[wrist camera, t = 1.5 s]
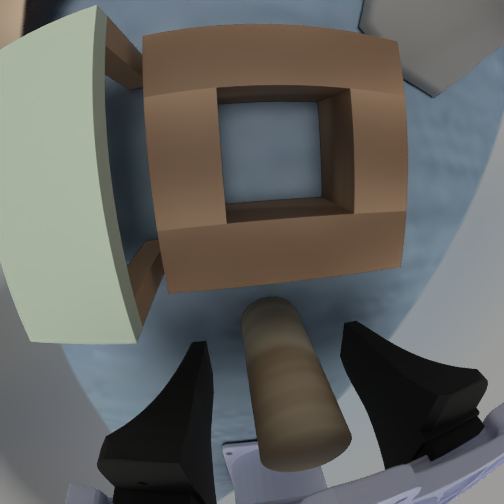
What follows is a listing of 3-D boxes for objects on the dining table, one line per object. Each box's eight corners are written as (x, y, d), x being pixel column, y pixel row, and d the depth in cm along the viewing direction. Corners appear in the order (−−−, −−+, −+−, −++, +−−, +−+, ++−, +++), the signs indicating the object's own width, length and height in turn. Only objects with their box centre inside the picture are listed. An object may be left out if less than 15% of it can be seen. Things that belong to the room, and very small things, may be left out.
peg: (297, 340, 16) (343, 461, 8) (243, 347, 15) (262, 477, 8) (298, 293, 15) (359, 416, 7) (238, 300, 14) (257, 436, 7)
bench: (169, 259, 13) (136, 343, 7) (94, 266, 13) (30, 341, 7) (150, 65, 10) (96, 5, 4) (71, 85, 10) (-15, 59, 4)
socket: (364, 240, 14) (400, 266, 11) (180, 258, 13) (168, 293, 10) (358, 61, 11) (397, 41, 8) (161, 63, 10) (142, 36, 7)
